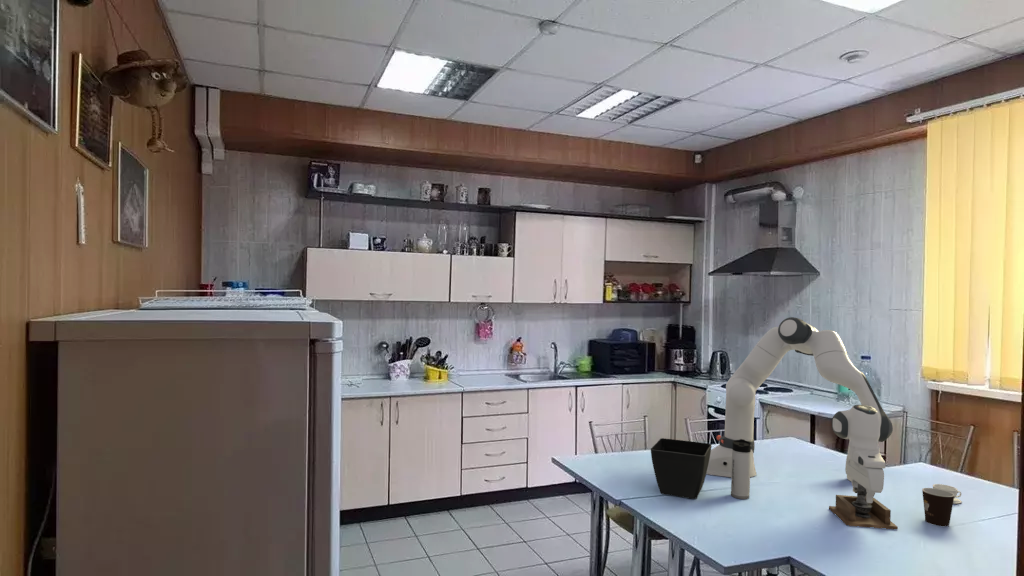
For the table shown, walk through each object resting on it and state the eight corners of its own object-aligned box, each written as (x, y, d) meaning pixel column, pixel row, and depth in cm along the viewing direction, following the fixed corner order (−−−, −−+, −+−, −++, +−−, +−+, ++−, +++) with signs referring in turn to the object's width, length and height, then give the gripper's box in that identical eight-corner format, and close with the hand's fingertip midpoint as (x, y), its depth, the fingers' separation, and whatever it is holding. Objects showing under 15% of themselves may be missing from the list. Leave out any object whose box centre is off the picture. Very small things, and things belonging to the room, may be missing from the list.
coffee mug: (954, 530, 191) (955, 498, 191) (921, 523, 195) (922, 493, 195) (951, 518, 200) (952, 489, 200) (920, 513, 205) (921, 483, 205)
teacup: (933, 502, 217) (934, 489, 217) (924, 493, 226) (924, 481, 226) (966, 506, 214) (966, 493, 214) (955, 497, 223) (956, 485, 223)
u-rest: (846, 525, 191) (847, 508, 191) (829, 508, 206) (829, 492, 206) (897, 529, 189) (898, 512, 189) (875, 512, 204) (876, 496, 204)
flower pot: (648, 495, 215) (650, 448, 215) (659, 480, 232) (660, 437, 232) (703, 504, 207) (705, 455, 207) (710, 489, 224) (712, 443, 224)
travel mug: (749, 495, 218) (751, 440, 218) (748, 500, 212) (750, 444, 212) (731, 492, 221) (733, 438, 221) (730, 497, 215) (731, 441, 215)
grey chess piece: (869, 513, 200) (871, 477, 200) (873, 519, 195) (874, 482, 195) (850, 510, 202) (851, 475, 202) (853, 516, 197) (854, 480, 197)
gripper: (840, 446, 209) (839, 486, 209) (866, 463, 188) (865, 507, 188) (860, 448, 208) (859, 487, 208) (888, 464, 187) (887, 509, 187)
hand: (862, 497), depth 198 cm, fingers open, 8 cm apart
